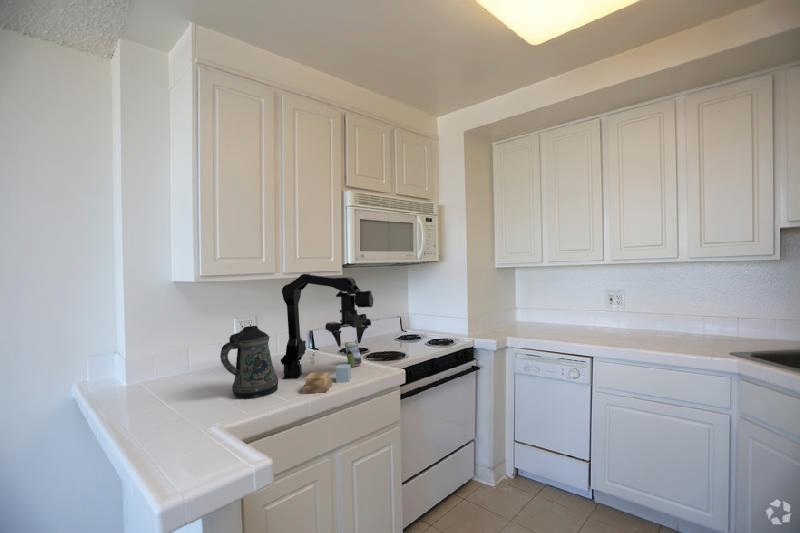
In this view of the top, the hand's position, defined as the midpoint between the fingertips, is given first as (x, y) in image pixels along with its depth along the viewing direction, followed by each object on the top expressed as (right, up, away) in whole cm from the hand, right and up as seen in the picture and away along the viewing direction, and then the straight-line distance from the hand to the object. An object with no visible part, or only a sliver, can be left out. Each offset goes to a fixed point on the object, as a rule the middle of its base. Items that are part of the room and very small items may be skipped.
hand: (349, 345), depth 157 cm
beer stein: (-34, -16, -14) cm, 40 cm away
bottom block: (-10, -15, -14) cm, 22 cm away
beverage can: (0, -14, +18) cm, 23 cm away
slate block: (-2, -14, -4) cm, 14 cm away
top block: (-10, -12, -13) cm, 21 cm away
